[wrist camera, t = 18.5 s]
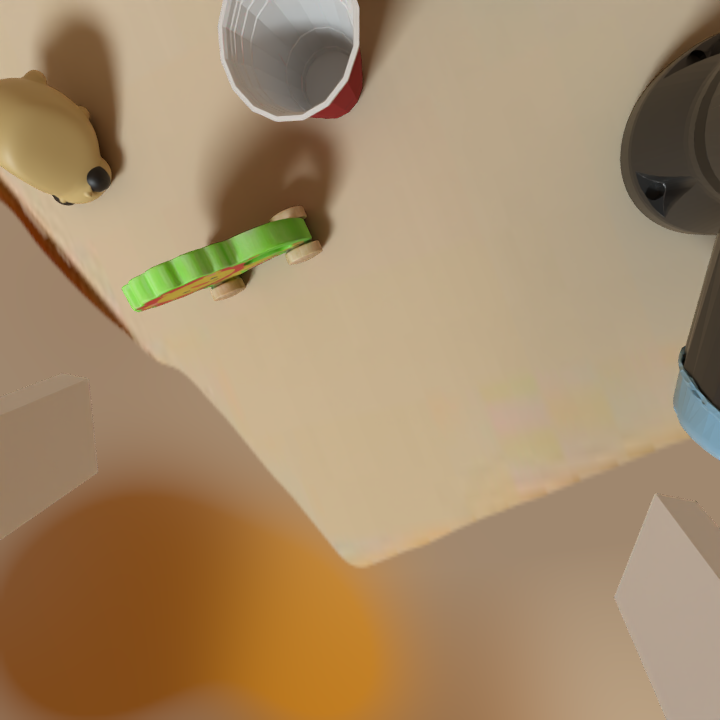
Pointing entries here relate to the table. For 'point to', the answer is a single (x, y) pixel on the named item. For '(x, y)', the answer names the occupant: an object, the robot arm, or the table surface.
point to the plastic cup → (292, 56)
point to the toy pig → (50, 141)
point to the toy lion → (224, 262)
